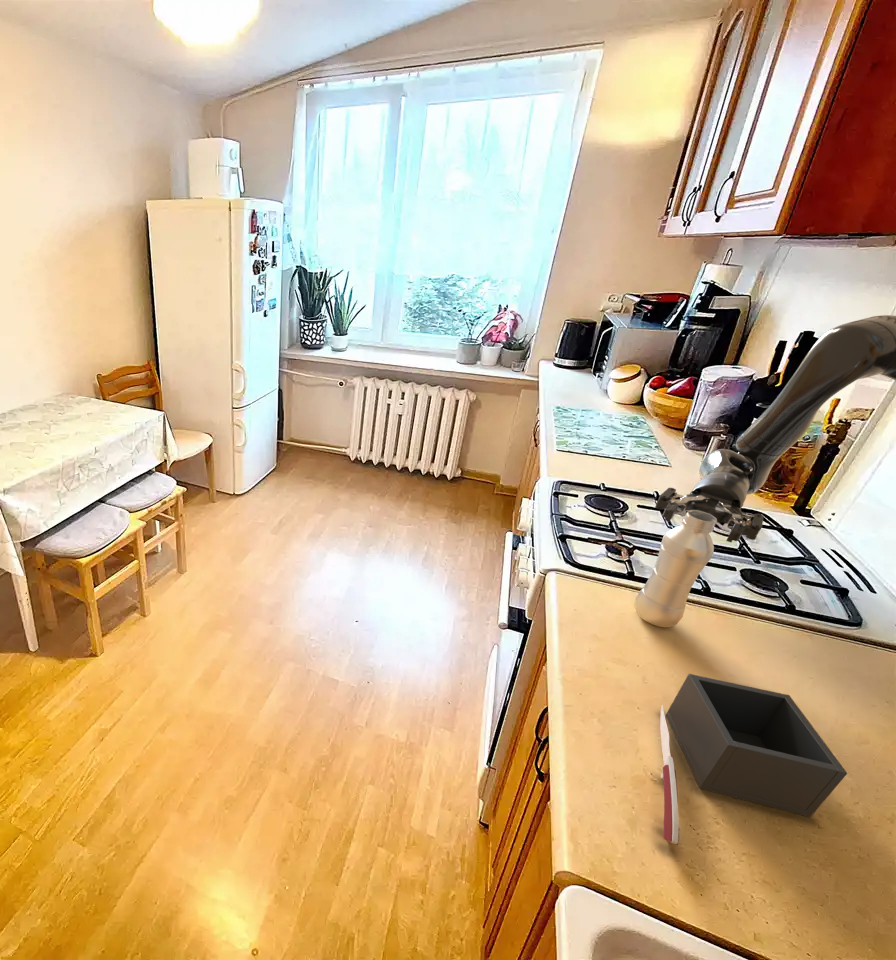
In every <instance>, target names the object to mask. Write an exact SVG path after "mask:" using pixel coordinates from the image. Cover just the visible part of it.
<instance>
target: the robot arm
mask: <svg viewBox="0 0 896 960" xmlns="http://www.w3.org/2000/svg"><path fill="white" fill-rule="evenodd" d="M877 375H880V376H884V377H886V378H888V379H891V380H894V381H896V315H893V314H882V315H873V316H870V317H866V318H861V319H857V320H854V321H849V322H846V323H842V324H839V325H837V326H835V327H832V328H830V329H829V330H828V331H825V333H823V334H822V335H821V336H820V337H819V338H818V339H817V340H816V341H815V343H814V344H813V345H812V347H811V348H810V350H809V351H808V352H807V353H806V355H805V357H804V358H803V359H802V361H801V363H800V364H799V366H798V367H797V369H796V370H795V372H794V373H793V375H792V376H791V377H790V379H789V380H788V381H787V383H786V384H785V386H784V388H783V389H782V390H781V391H780V393H779V394H778V395H777V396H776V398H775V399H774V400H773V401H772V403H770V405H769V406H768V407H767V408H766V409H765V410H764V411H763V412H762V413H761V415H759V417H758V418H756V419H755V420H754V422H753V423H751V425H750V426H749V427H748V428H747V429H746V430H744V432H742V434H741V435H740V436H739V437H738V438H737V440H736V441H735V448H736V451H738V452H735V451H734V450H731V449H729V448H718V449H714V450H713V451H711V452H709V453H708V454H706V456H704V458H703V459H702V460H701V463H700V464H699V469H698V475H699V479H700V480H699V481H698V482H697V483H696V484H695V486H694V487H693V489H692V490H691V491H690V493H688V494H685V495H682V494H679V493H678V492H677V489H676V488H674V487H668V488H667V489H666V490H664V491H663V492H662V493H661V494H660V495H659V497H658V499H657V502H656V504H655V506H654V508H655V509H657V510H663V512H662V515H661V516H662V518H665V519H664V521H667V522H671V520H673V518H674V517H675V515H679V516H680V517H683V518H684V517H685V515H686V513H687V512H688V511H689V510H698V511H702V512H706V513H708V514H710V515H712V516H714V517H715V518H716V519H717V522H716V524H715V525H716V526H718V527H719V528H720V529H721V530H722V531H727V532H729V534H728V536H727V538H726V542H728V543H732V542H733V541H734V542H739V541H740V539H741V537H742V536H745V538H746V539H748V540H752V541H755V540H756V539H757V537H758V534H759V533H760V532H761V530H762V528H763V523H764V515H762V514H760V513H754V514H750V515H749V514H744V513H743V511H742V507H744V504H745V501H746V500H747V496H748V495H752V494H755V493H757V492H758V491H759V490H761V488H762V487H763V486H764V484H765V483H766V481H767V479H768V477H769V474H770V472H771V470H772V468H773V467H774V465H775V464H776V462H777V461H778V460H779V459H780V458H781V456H783V455H784V454H785V453H786V452H787V451H788V450H789V449H791V447H793V446H794V445H795V444H796V443H797V442H798V441H800V440H801V438H802V437H804V435H805V434H806V433H807V432H808V430H809V429H810V427H811V426H812V425H813V424H812V423H813V422H814V419H815V417H816V415H817V413H818V412H819V410H820V409H821V408H822V407H823V405H824V404H825V403H827V401H829V399H831V398H832V397H833V396H835V395H836V394H837V393H839V392H840V391H841V390H842V391H843V389H845V388H846V387H848V386H850V385H851V384H853V383H854V382H856V381H858V380H863V379H868V378H871V377H873V376H874V377H875V376H877Z"/></svg>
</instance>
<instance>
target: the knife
mask: <svg viewBox="0 0 896 960" xmlns="http://www.w3.org/2000/svg"><path fill="white" fill-rule="evenodd" d="M659 716H660V717H659V731H660V732H659V733H660V744H661V752H662V759H663V762H662V763H663V767H662V772H661V774H660V780H662V781H663V840H665V841H666V842H669V843H671V844H673V845H676V846H677V847H678V846H679V839H680V830H681V829H680V824H679V821H680V820H679V797H678V779H677V773H676V768H675V763H674V758H673V757H672V756H671V750H670V733H669V729H668V723H667V721H666V720H667V718H666V714H665V711H664V707H663V705H661V708H660V715H659Z"/></svg>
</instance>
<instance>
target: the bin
mask: <svg viewBox="0 0 896 960" xmlns="http://www.w3.org/2000/svg"><path fill="white" fill-rule="evenodd" d="M665 718H666V720H667V721H668V723H669V725H670V728H671V730H672V732H673V734H674V736H675V738H676V740H677V743H678V745H679V747H680V749H681V751H682V753H683V756H684V758H685V761H686V762H687V764H688V767H689V769H690V771H691V773H692V775H693V777H694V780H695V782H696V784H697V786H698V789H700V790H704V791H708V792H712V793H716V794H720V795H723V796H727V797H731V798H734V799H739V800H743V801H746V802H749V803H754V804H758V805H762V806H765V807H769V808H774V809H777V810H781V811H784V812H789V813H792V814H796V815H800V816H804V817H807V818H812V816H813V815H814V814H815V812H816V811H817V810H818V809H819V808H820V806H822V804H823V803H824V802H825V801H826V799H827V798H828V797H829V796H830V795H831V794H832V793H833V791H834V790H835V789H836V788H837V787H838V785H839V784H840V783H841V782H842V781H843V780H844V779H845V778H846V776H847V775H848V772H847V771H846V769H845V767H843V765H842V764H841V763H840V761H839V760H838V759H837V757H836V756H835V755H834V753H833V752H832V750H831V749H830V748H829V746H828V745H827V744H826V742H825V740H823V738H822V737H821V736H820V735H819V733H818V731H817V730H816V729H815V728H814V726H813V725H812V724H811V722H810V721H809V720H808V719H807V717H806V716H805V714H804V712H802V710H801V709H800V707H798V705H797V703H796V702H795V700H794V699H793V698H792V697H791V695H789V694H785V693H781V692H776V691H771V690H767V689H764V688H763V689H762V688H758V687H753V686H749V685H744V684H738V683H734V682H729V681H724V680H720V679H715V678H710V677H706V676H701V675H697V674H693V673H688V674H687V676H686V678H685V680H684V681H683V683H682V685H681V686H680V688H679V690H678V692H677V694H676V696H675V697H674V699H673V701H672V702H671V704H670V706H669V708H668V710H667V711H666V714H665Z"/></svg>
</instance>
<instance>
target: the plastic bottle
mask: <svg viewBox="0 0 896 960" xmlns="http://www.w3.org/2000/svg"><path fill="white" fill-rule="evenodd" d="M687 511H688V510H687ZM716 522H717V519H716V518H715V517H714V516H712V515H710V514H708V513H706V512H702V511H698V510H689V511H688V512H687V513H686V515H685V517H683V518H682V520H681V525H678V526H676V527H674V528H671V529H670V530H668V531H667V532H666V533H665V534H664V535H663V537H662V540H661V542H660V546H659V551H658V555H657V558H656V562H655V564H654V567H653V570H652V572H651V574H650V575H649V577H648V579H647V581H646V582H645V584H644V586H643V587H642V588H641V589H640V590H639V592H638V593H637V595H636V596H635V600H634V605H633V606H634V609H635V612H636V614H637V615H638V616H639V618H641V619H642V620H643V621H645V622H647V623H648V624H651V625H654V626H656V627H659V628H670V627H673V626H676V625H677V624H678V623H679V622H680V621H681V620H682V618H683V617H684V614H685V610H686V605H687V604H686V603H687V600H688V598H689V595H690V592H691V590H692V587H693V586H694V584H695V582H696V581H697V579H698V578H699V575H700V574H701V572H702V571H703V569H704V568H705V567H706V566H707V564H708V563H709V561H710V560H711V559H712V558H713V556H714V552H715V546H714V542H713V539H712V537H711V535H710V534H711V533H713V532H714V529H715V526H716V525H717V524H716Z"/></svg>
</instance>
